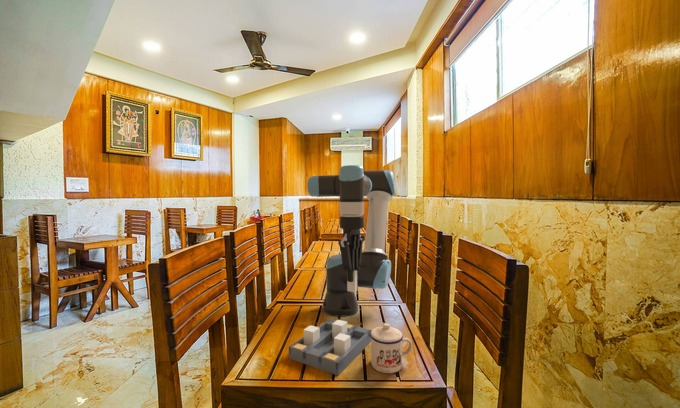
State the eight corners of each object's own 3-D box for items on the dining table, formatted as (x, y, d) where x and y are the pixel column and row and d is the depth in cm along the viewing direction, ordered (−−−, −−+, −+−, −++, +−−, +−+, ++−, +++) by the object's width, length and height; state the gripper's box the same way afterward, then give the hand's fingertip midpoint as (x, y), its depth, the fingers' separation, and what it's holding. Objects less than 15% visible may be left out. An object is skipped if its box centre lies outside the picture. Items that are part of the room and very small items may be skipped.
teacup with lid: (374, 375, 78) (374, 332, 77) (367, 357, 87) (367, 318, 86) (417, 372, 79) (417, 330, 79) (406, 354, 88) (406, 316, 88)
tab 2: (338, 334, 98) (337, 319, 98) (347, 336, 96) (347, 321, 96) (332, 338, 95) (332, 323, 95) (341, 341, 93) (341, 326, 93)
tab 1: (310, 340, 94) (310, 325, 94) (319, 343, 92) (319, 327, 92) (303, 345, 91) (303, 329, 90) (313, 348, 89) (313, 332, 89)
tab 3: (340, 349, 88) (340, 333, 88) (350, 352, 86) (350, 335, 86) (334, 355, 85) (333, 338, 85) (344, 358, 83) (344, 341, 83)
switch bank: (328, 329, 105) (328, 318, 105) (371, 340, 97) (371, 329, 97) (288, 358, 86) (288, 346, 86) (338, 375, 78) (338, 362, 78)
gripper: (350, 214, 98) (351, 283, 99) (330, 216, 87) (331, 295, 87) (371, 214, 94) (371, 287, 95) (352, 217, 83) (353, 299, 84)
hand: (352, 290), depth 91 cm, fingers closed
